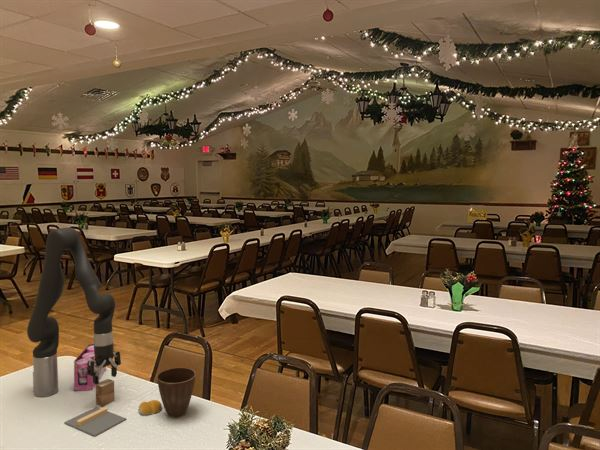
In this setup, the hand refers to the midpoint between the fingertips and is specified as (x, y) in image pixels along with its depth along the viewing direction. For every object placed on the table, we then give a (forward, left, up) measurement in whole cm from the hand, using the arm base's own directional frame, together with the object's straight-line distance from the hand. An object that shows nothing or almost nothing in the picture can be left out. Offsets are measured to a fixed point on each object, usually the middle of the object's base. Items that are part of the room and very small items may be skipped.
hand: (105, 380), depth 190 cm
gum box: (-25, +11, -10) cm, 30 cm away
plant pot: (+32, +9, -10) cm, 34 cm away
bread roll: (+21, +5, -10) cm, 24 cm away
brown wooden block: (0, 0, -10) cm, 10 cm away
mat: (+10, -12, -10) cm, 18 cm away
